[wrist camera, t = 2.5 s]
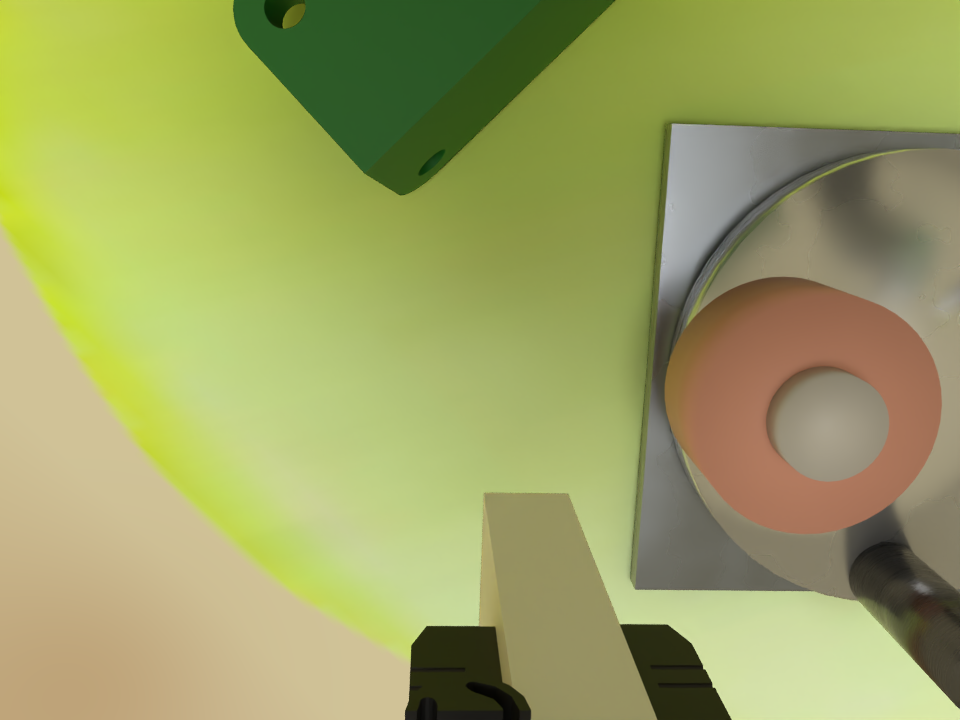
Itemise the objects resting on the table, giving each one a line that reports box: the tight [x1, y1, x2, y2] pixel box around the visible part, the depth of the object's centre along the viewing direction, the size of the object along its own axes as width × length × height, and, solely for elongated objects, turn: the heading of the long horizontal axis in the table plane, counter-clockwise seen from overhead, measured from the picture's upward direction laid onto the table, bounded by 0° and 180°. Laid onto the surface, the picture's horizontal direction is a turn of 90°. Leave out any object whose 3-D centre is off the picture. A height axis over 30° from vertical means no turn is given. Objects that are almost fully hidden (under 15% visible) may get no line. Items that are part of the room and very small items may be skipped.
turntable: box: [670, 149, 960, 709], centre depth 27 cm, size 15×15×8 cm
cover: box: [665, 277, 942, 534], centre depth 26 cm, size 7×7×4 cm
